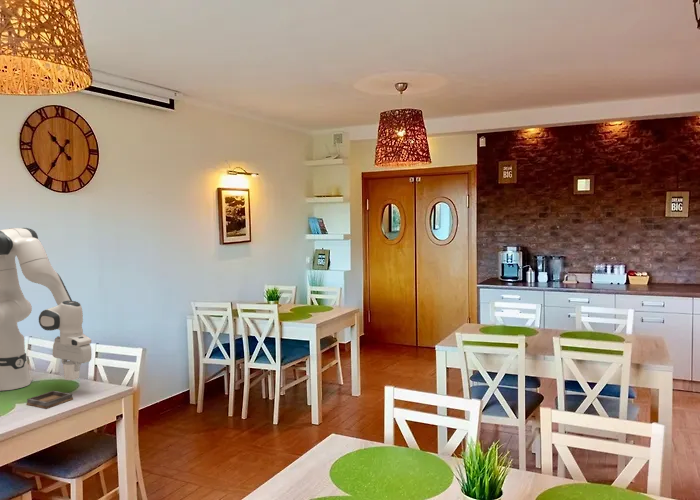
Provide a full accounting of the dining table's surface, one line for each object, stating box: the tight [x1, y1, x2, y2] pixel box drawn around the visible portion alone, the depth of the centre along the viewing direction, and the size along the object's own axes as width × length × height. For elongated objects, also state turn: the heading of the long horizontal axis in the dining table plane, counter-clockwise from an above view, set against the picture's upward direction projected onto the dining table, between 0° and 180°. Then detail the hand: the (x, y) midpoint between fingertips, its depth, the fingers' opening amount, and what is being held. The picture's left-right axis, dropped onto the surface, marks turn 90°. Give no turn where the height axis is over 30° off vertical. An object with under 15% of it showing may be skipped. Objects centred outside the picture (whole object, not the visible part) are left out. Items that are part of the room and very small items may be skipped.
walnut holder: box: [26, 390, 74, 410], centre depth 225 cm, size 12×12×2 cm
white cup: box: [62, 360, 80, 381], centre depth 237 cm, size 7×7×7 cm
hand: (71, 370), depth 237 cm, fingers closed on white cup, 5 cm apart
